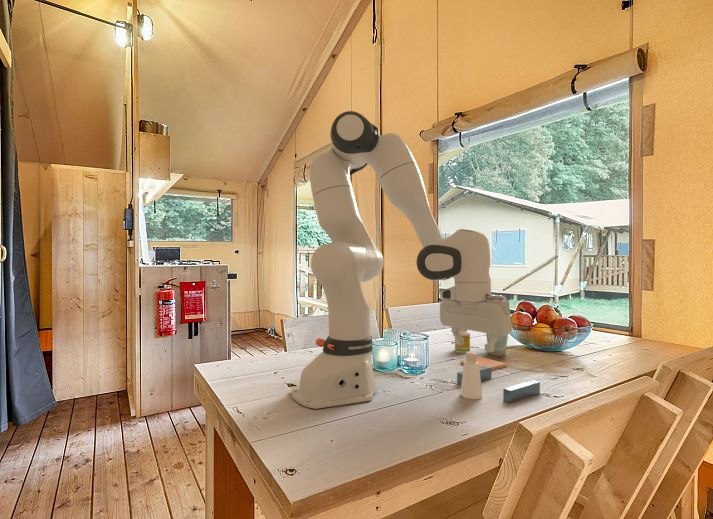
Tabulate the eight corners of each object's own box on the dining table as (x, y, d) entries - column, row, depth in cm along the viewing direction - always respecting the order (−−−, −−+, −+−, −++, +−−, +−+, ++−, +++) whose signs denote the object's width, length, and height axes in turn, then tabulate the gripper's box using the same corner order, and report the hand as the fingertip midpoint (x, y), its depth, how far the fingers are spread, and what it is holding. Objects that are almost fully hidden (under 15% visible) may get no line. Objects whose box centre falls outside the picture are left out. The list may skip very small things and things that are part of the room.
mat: (485, 372, 118) (485, 368, 118) (460, 364, 126) (460, 361, 126) (506, 366, 123) (506, 363, 123) (481, 359, 131) (481, 356, 131)
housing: (510, 403, 93) (510, 390, 93) (457, 383, 107) (457, 372, 107) (539, 393, 99) (539, 381, 99) (485, 375, 114) (485, 365, 114)
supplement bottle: (471, 353, 139) (471, 326, 139) (456, 353, 140) (456, 326, 139) (467, 349, 145) (467, 323, 145) (453, 349, 145) (453, 323, 145)
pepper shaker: (467, 400, 95) (467, 356, 95) (456, 392, 100) (456, 350, 100) (486, 398, 96) (487, 354, 96) (474, 391, 101) (474, 349, 101)
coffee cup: (484, 355, 136) (484, 322, 136) (484, 350, 144) (484, 318, 144) (510, 357, 134) (511, 323, 133) (508, 351, 142) (508, 319, 142)
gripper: (517, 295, 91) (518, 353, 91) (451, 290, 108) (453, 339, 108) (499, 297, 87) (501, 358, 87) (435, 291, 104) (436, 342, 104)
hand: (474, 347), depth 98 cm, fingers open, 8 cm apart
